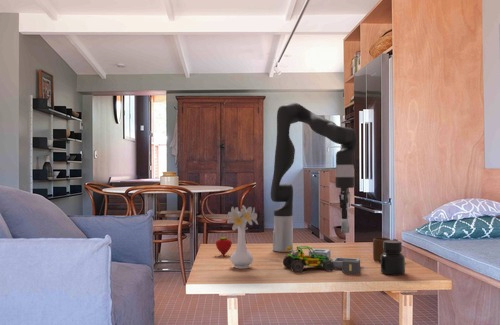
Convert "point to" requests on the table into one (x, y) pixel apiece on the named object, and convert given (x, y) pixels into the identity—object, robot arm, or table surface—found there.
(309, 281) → the table surface
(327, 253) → the socket
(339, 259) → the tray
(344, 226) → the pin
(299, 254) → the motor vehicle
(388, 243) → the ink bottle
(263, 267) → the table surface
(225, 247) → the strawberry
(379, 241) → the mug
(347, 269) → the block
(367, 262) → the table surface
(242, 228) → the flower vase
